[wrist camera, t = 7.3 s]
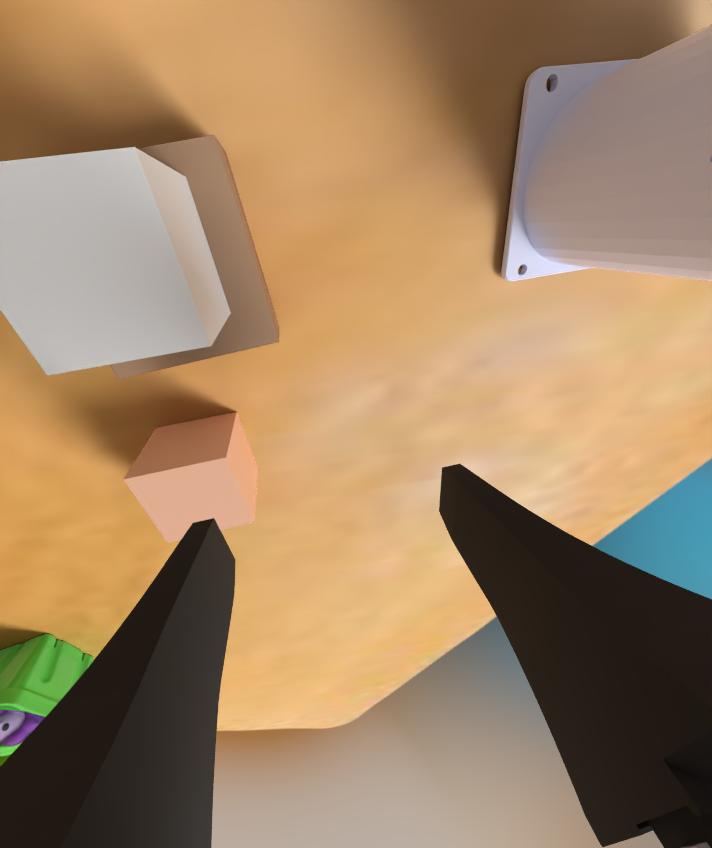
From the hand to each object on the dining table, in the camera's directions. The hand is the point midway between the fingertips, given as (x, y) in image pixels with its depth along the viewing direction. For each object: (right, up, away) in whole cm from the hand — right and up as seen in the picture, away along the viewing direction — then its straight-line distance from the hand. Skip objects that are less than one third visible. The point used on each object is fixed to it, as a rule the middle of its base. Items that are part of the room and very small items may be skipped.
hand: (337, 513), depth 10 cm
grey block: (-7, +9, +2) cm, 11 cm away
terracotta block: (-8, +1, +9) cm, 12 cm away
